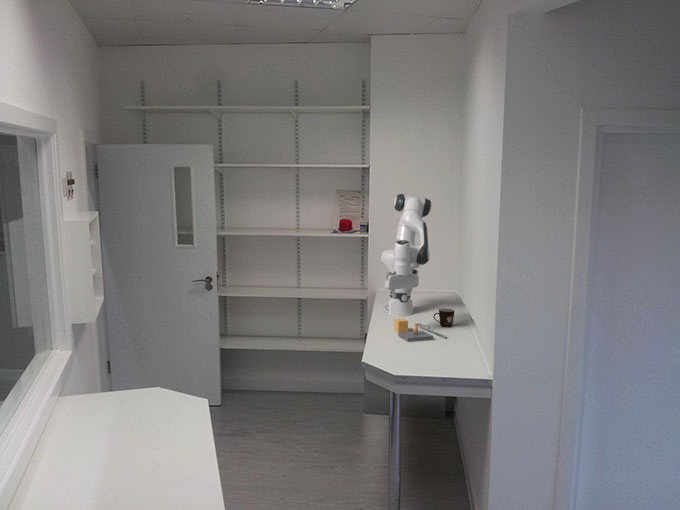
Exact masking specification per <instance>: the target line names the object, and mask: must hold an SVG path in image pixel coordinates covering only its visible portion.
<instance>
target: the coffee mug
mask: <svg viewBox="0 0 680 510" xmlns="http://www.w3.org/2000/svg"><path fill="white" fill-rule="evenodd" d="M436 315H438V316H439V320H438V319H437V318H436V317H435V316H436ZM454 317H455V309H454V308H450V307H449V308H447V307H444V308H443V307H442V308H439V309H438V312H434V313H433V318H434V320H435V321H437V322H438V323H439V326H440V327H441V328H452V327H453V326H454Z"/></svg>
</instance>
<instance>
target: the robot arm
mask: <svg viewBox="0 0 680 510" xmlns="http://www.w3.org/2000/svg"><path fill="white" fill-rule="evenodd" d="M393 208H394V209H395V211H397V212H399V213H400V212H401V215H400V218H399V220H398V225H397V230H396V236H395V239H396V241H395V244H394V249H392V248H391V249H386V250H383V252H382V253H381V256H380V261H381V264H382V266H384V267H385V268H386V270H387V272H388V273H386V274H385V283H384V288H385V290H389V291H390V292H389V298H388V299H387V300H386V301H385V302H384V303H383V307H384V309H383V310H382V312H383V313H384V315H385V316H391V317H398V318H399V317H400V318H404V317H410V316H412V315H413V314H414V313H415V311H414V309H413V307H414V306H413V305H414V303H413V300H412V298H411V294H412V291H413V288H418V287H419V283H420V282H419V270H417V269H418V268H419V267H421V265H423V266H424V265H425V264H428V262H429V261H430V249H429V237H428V228H427V223H426V222H425V221H424V220H423V218H425V217H427V216H428V215H429V214H431V213H430V212H431V210H432V201H431V200H430V199H429V198H425V197H421V196H418V195H411V194H404V193H399V194H397V195H396V197H395V198H394V201H393ZM416 233H417V234H418V235H419V237H420V238H419V239H420V245H416V244H415V242H416V241H415V240H416Z"/></svg>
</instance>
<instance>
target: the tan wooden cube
mask: <svg viewBox="0 0 680 510" xmlns="http://www.w3.org/2000/svg"><path fill="white" fill-rule="evenodd" d="M393 322H394V323H393V326H394V329H393V330H394V331H395V332H396V333H398V332H409V320H407V319H406V318H396V319H394V320H393Z"/></svg>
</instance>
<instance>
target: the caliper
mask: <svg viewBox="0 0 680 510" xmlns="http://www.w3.org/2000/svg"><path fill="white" fill-rule="evenodd" d="M414 325H418V328H422V329H423V330H426V331H428V332H429V333H432V334H435V335H437V336H439V337H441V338H444V339H448V336H446V335H444V334H441V333H439V332H436V331H435V330H433V329H431V328H430V326H429V325H423V324H422V323H414Z"/></svg>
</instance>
